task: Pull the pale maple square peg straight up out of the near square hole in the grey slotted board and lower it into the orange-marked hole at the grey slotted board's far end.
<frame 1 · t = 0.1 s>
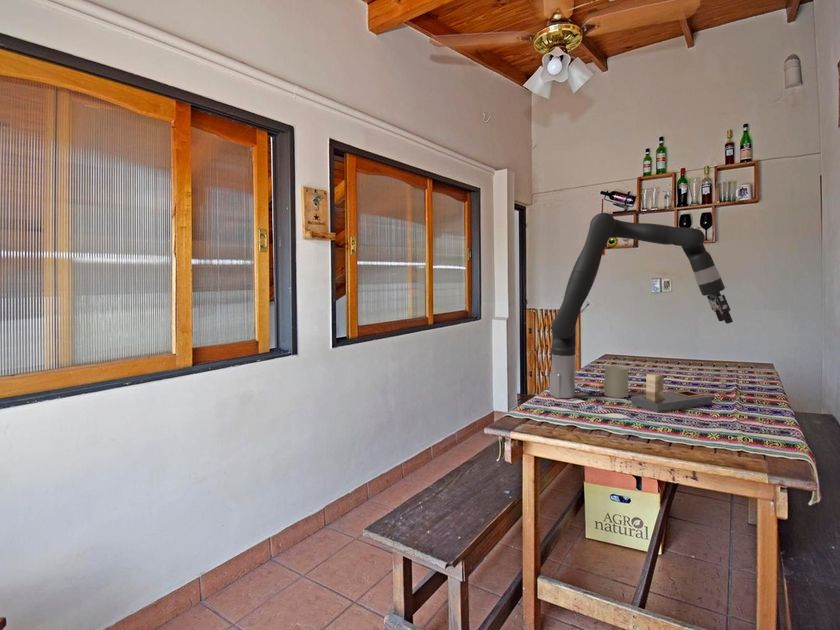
hand: (725, 321, 168), 31 cm above the table, tool tilted 20°, fingers open, 8 cm apart
peg: (654, 406, 171), resting in grey slotted board
can: (616, 395, 189), on the table
grey slotted board: (671, 404, 174), on the table
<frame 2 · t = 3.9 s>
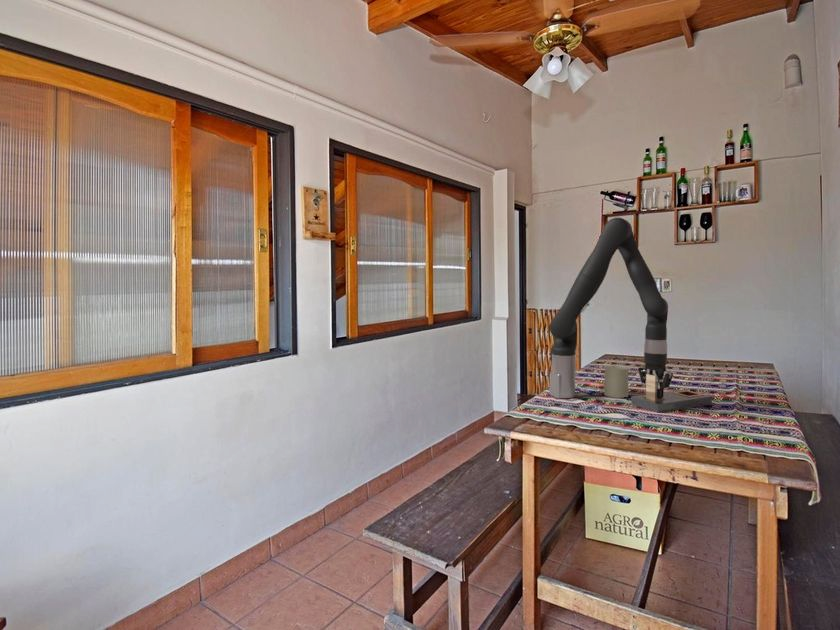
hand: (654, 396, 171), 4 cm above the table, tool pointing down, fingers closed on peg, 4 cm apart
peg: (654, 406, 171), resting in grey slotted board, touching gripper
everything else where it was.
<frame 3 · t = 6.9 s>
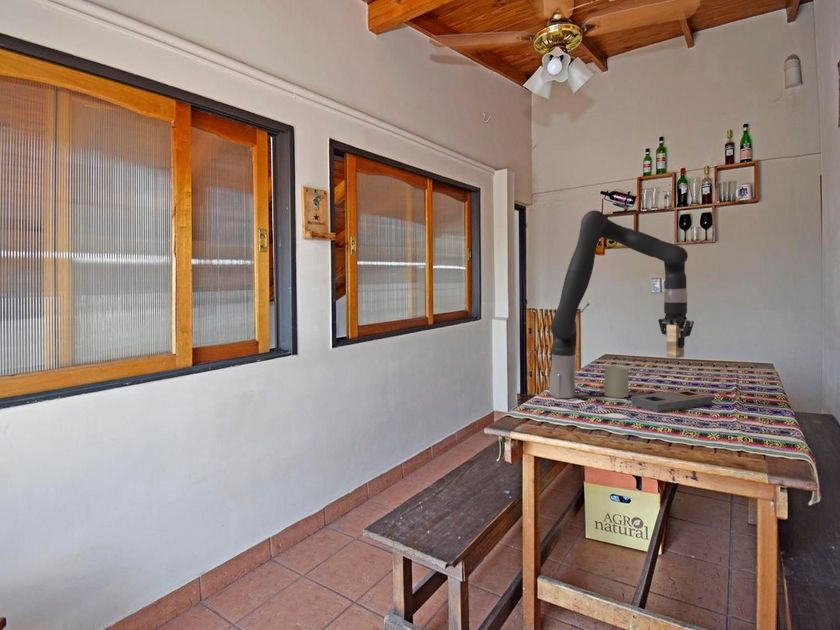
hand: (675, 346, 172), 22 cm above the table, tool pointing down, fingers closed on peg, 4 cm apart
peg: (675, 356, 172), point 18 cm above the table, touching gripper
everything else where it was.
when the fingers open (5 cm above the table, at t = 10.0 s): peg stays where it is, resting in grey slotted board.
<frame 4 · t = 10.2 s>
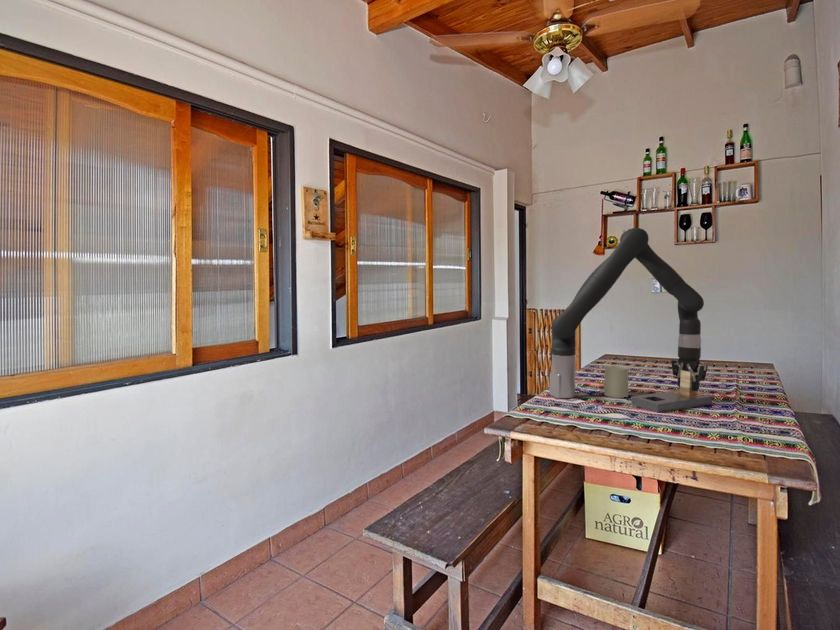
hand: (688, 389, 177), 5 cm above the table, tool pointing down, fingers open, 5 cm apart
peg: (687, 401, 177), resting in grey slotted board
everything else where it was.
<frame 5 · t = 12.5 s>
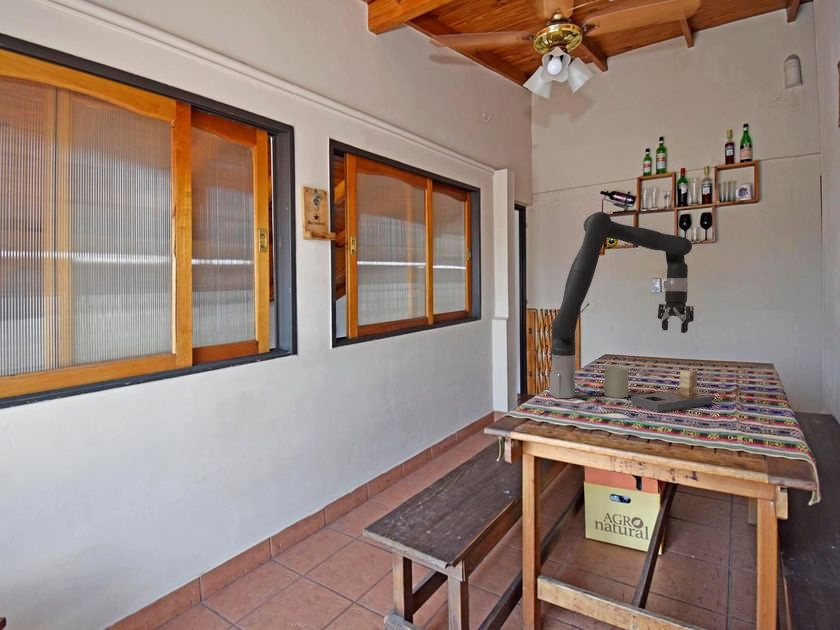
hand: (674, 331, 180), 27 cm above the table, tool pointing down, fingers open, 8 cm apart
nothing on the table moved.
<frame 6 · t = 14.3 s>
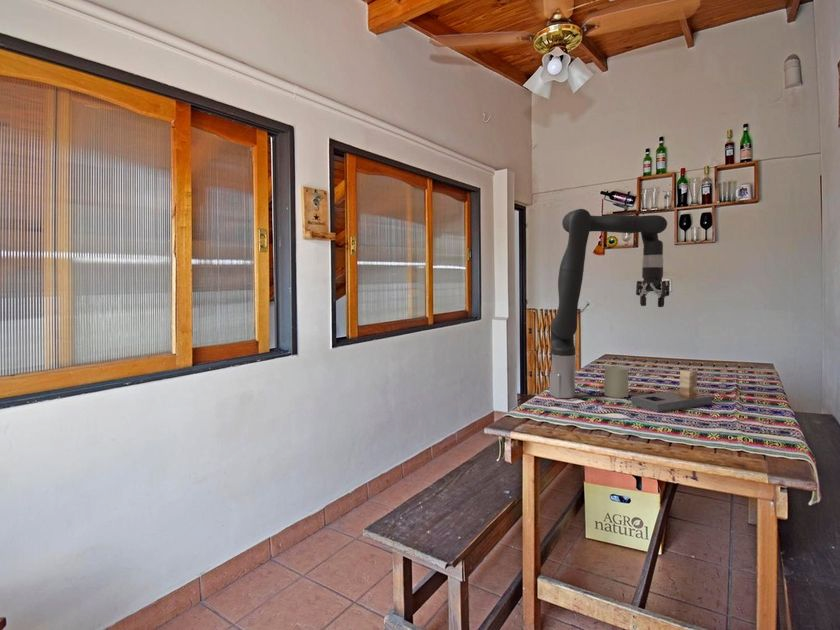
hand: (651, 306, 187), 36 cm above the table, tool pointing down, fingers open, 8 cm apart
nothing on the table moved.
at the end: peg 0.0 cm from the target spot on the grey slotted board, point 0.0 cm above the grey slotted board's base; peg tilted 0°; the gripper is holding nothing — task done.
